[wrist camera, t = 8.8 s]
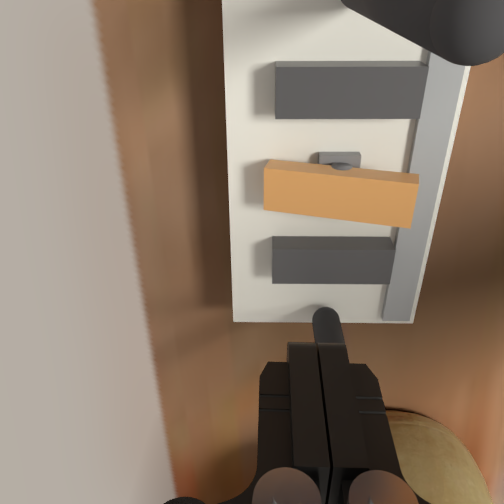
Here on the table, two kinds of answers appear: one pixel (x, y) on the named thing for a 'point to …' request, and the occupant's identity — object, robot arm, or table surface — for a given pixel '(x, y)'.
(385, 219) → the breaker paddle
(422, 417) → the ceramic vessel
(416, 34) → the dark grey peg
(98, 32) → the table surface
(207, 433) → the table surface
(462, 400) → the table surface
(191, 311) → the table surface
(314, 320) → the dark grey rod
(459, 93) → the breaker board
